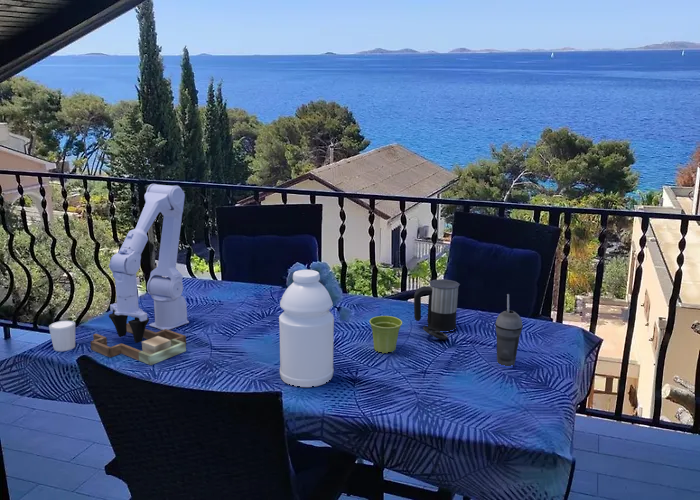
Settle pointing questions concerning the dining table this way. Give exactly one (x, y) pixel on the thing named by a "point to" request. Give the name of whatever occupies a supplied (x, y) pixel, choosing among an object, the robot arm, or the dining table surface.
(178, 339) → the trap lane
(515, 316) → the beverage cup
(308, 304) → the bottle
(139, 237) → the robot arm
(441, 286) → the milk frother
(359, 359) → the dining table surface
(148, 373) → the dining table surface
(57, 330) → the white tapered cup
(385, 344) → the plant pot
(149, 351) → the oak block
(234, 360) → the dining table surface
